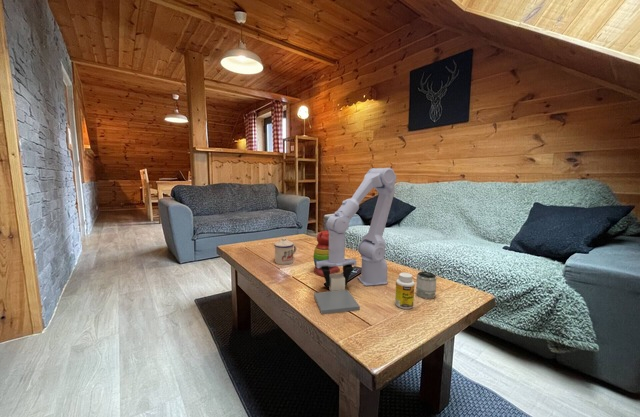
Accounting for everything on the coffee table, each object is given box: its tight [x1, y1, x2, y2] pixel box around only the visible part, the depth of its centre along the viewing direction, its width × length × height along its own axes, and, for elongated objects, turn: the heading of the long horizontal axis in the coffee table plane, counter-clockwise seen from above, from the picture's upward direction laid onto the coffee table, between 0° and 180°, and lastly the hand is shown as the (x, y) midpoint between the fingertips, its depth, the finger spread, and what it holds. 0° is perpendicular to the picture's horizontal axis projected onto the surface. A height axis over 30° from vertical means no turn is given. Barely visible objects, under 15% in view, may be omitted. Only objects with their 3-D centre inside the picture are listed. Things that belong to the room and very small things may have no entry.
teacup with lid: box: [274, 237, 297, 266], centre depth 125 cm, size 12×9×12 cm
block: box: [328, 272, 346, 292], centre depth 95 cm, size 5×5×5 cm
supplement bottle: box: [394, 272, 416, 310], centre depth 83 cm, size 6×6×10 cm
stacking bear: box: [313, 229, 340, 278], centre depth 112 cm, size 11×10×18 cm
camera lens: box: [415, 271, 437, 300], centre depth 90 cm, size 6×6×8 cm
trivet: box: [313, 289, 361, 315], centre depth 85 cm, size 12×12×1 cm
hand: (336, 285), depth 95 cm, fingers open, 6 cm apart
